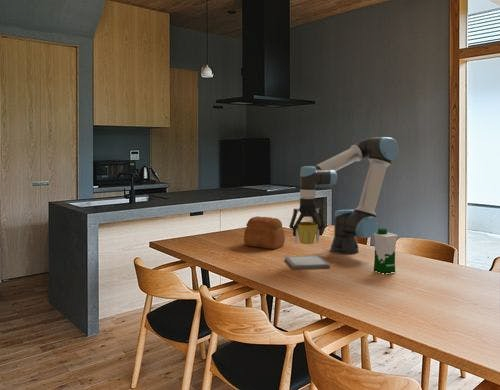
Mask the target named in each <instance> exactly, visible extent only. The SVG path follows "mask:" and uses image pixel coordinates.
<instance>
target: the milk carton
mask: <svg viewBox="0 0 500 390" xmlns="http://www.w3.org/2000/svg"><path fill="white" fill-rule="evenodd" d="M373 238H374V262H373V263H374V264H373V270H374V271H373V272H375V271H377V272H376V273H378V272H380V273H384V274H386V273H391V272H395V273H396V247H397V246H396V245H397V240H398V234H394V233H391V232H388V229H387V228H385V227H384V228H381V227H378V229H377V232H376V233H375V234H374V235H373ZM380 273H379V274H380Z"/></svg>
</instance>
